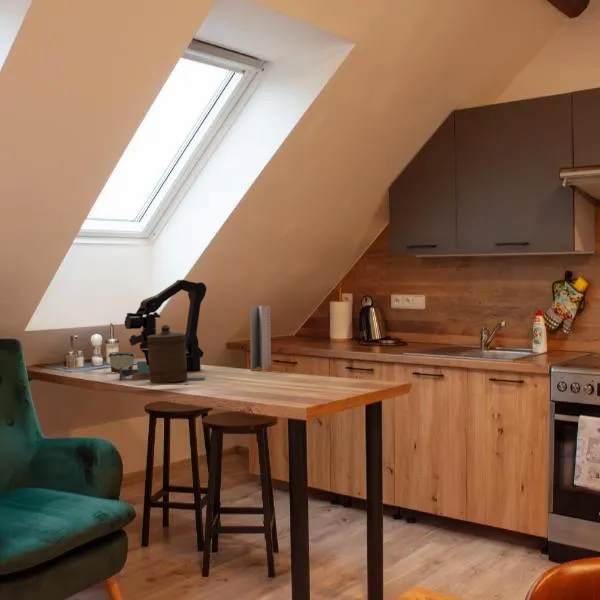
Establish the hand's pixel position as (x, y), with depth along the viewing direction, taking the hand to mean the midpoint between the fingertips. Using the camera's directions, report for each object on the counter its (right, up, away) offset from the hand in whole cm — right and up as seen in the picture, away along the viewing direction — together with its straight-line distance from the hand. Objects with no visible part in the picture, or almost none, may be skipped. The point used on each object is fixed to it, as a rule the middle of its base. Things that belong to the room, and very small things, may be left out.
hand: (149, 364), depth 338 cm
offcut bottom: (+1, -6, -9) cm, 10 cm away
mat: (+19, -5, -15) cm, 25 cm away
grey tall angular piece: (+47, -5, +11) cm, 49 cm away
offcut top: (+1, -4, -9) cm, 10 cm away
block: (0, -5, 0) cm, 5 cm away
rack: (0, -5, -2) cm, 6 cm away
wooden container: (+12, -4, -23) cm, 27 cm away
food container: (-16, -6, +21) cm, 27 cm away
